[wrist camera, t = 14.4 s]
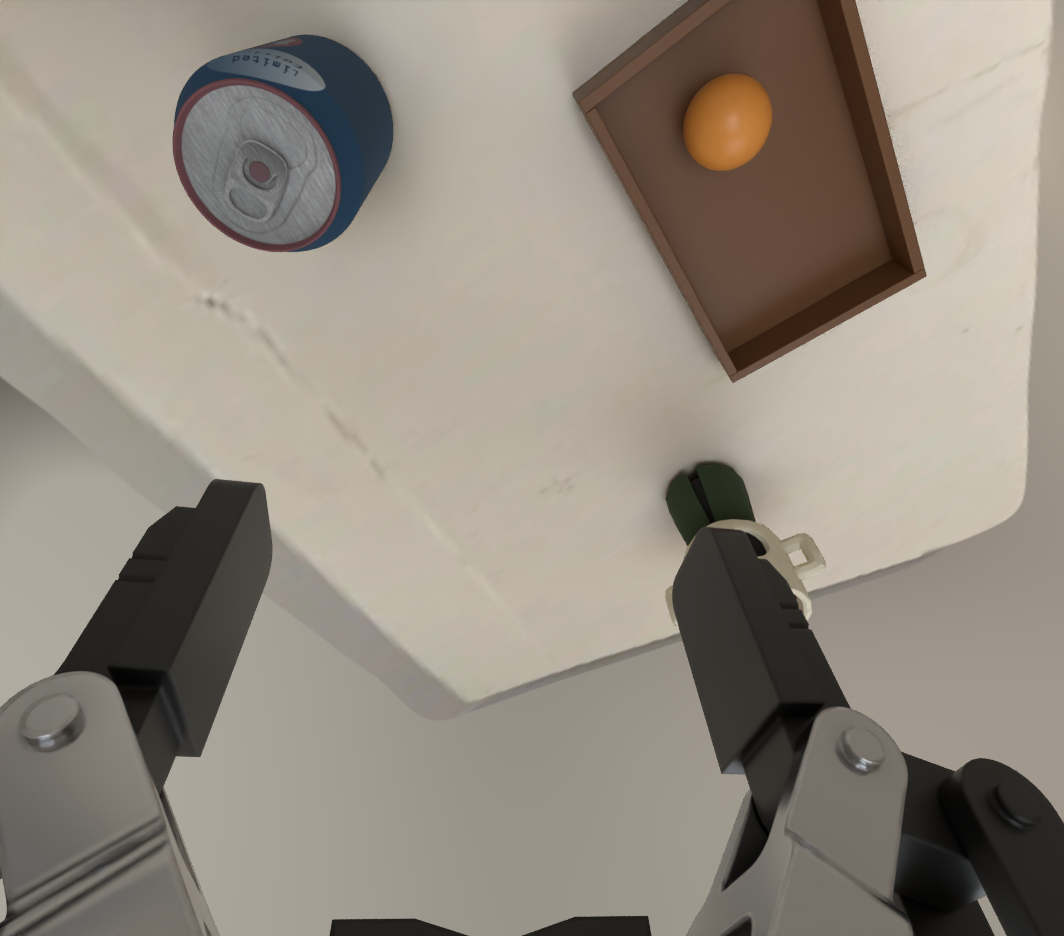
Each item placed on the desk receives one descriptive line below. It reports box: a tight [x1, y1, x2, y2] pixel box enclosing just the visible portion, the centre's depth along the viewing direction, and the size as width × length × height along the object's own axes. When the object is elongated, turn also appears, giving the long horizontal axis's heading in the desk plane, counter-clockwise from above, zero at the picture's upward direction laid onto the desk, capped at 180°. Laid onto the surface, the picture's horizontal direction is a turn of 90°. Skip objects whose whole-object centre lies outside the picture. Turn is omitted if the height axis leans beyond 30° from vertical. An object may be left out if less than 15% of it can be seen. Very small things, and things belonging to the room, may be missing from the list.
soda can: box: [173, 35, 393, 252], centre depth 26 cm, size 7×7×12 cm
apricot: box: [683, 73, 772, 171], centre depth 30 cm, size 4×4×4 cm
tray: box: [572, 0, 926, 383], centre depth 33 cm, size 19×12×3 cm, turn 35°
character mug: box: [665, 464, 826, 626], centre depth 44 cm, size 11×7×13 cm, turn 122°
